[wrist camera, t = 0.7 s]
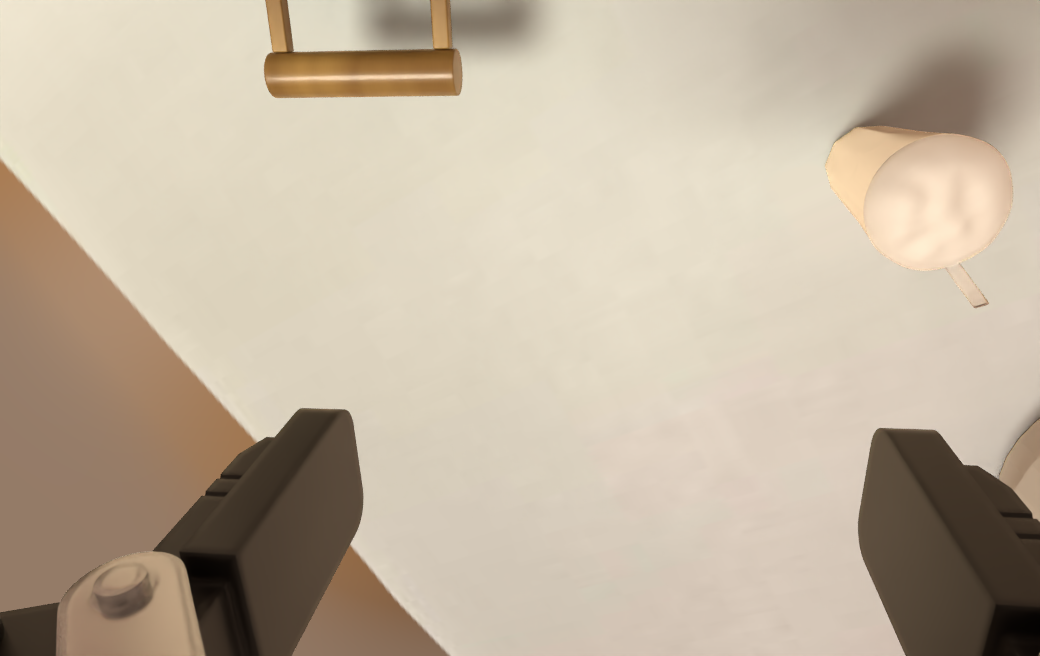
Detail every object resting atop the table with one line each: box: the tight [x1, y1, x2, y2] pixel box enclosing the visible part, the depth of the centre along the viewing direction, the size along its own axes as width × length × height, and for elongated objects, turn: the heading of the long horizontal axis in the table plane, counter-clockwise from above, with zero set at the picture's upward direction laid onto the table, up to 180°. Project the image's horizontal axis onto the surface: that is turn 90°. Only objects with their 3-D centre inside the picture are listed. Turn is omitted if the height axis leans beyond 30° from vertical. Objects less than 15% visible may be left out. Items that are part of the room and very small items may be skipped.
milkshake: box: [825, 126, 1013, 308], centre depth 27 cm, size 5×5×10 cm
